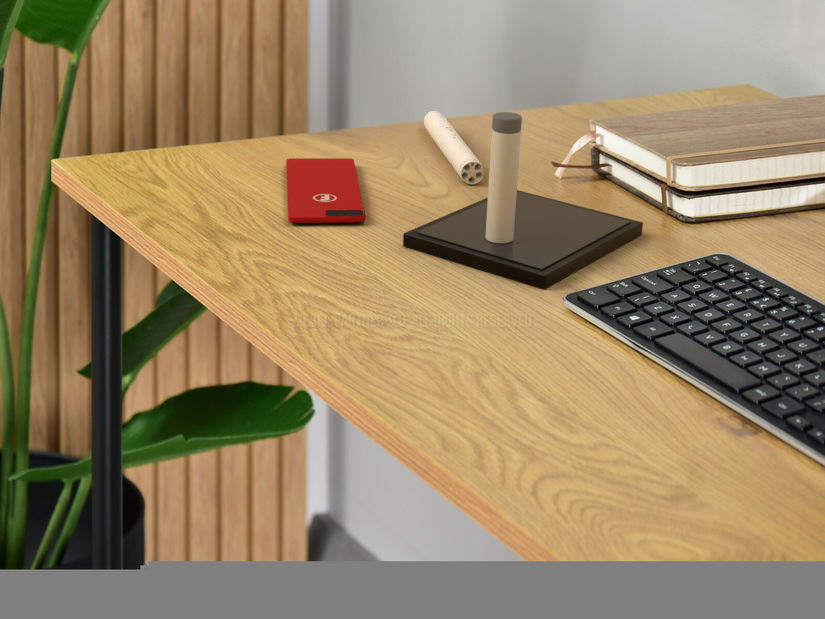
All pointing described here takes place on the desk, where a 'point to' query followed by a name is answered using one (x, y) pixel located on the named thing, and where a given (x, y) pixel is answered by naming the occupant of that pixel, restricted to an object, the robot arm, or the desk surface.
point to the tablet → (526, 239)
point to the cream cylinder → (454, 148)
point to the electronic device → (323, 191)
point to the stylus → (503, 177)
